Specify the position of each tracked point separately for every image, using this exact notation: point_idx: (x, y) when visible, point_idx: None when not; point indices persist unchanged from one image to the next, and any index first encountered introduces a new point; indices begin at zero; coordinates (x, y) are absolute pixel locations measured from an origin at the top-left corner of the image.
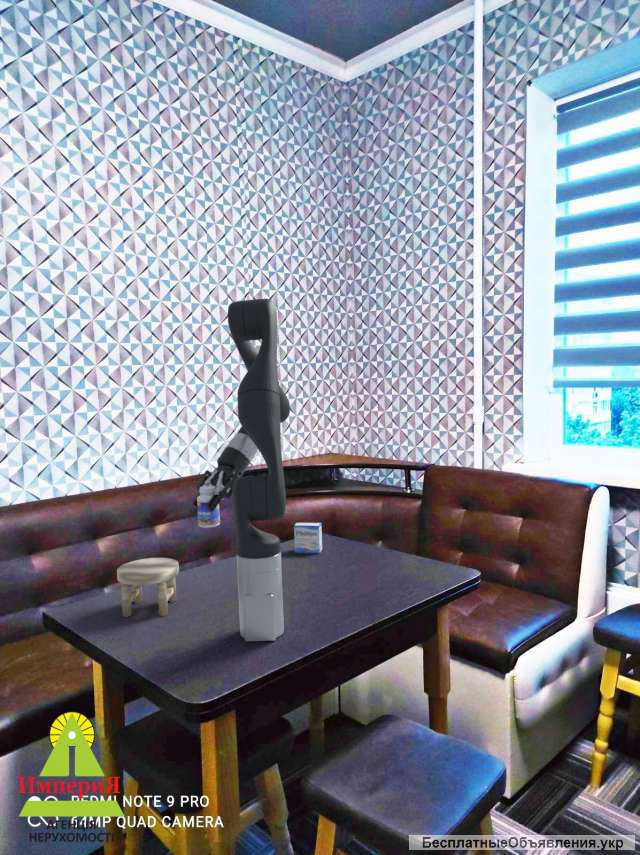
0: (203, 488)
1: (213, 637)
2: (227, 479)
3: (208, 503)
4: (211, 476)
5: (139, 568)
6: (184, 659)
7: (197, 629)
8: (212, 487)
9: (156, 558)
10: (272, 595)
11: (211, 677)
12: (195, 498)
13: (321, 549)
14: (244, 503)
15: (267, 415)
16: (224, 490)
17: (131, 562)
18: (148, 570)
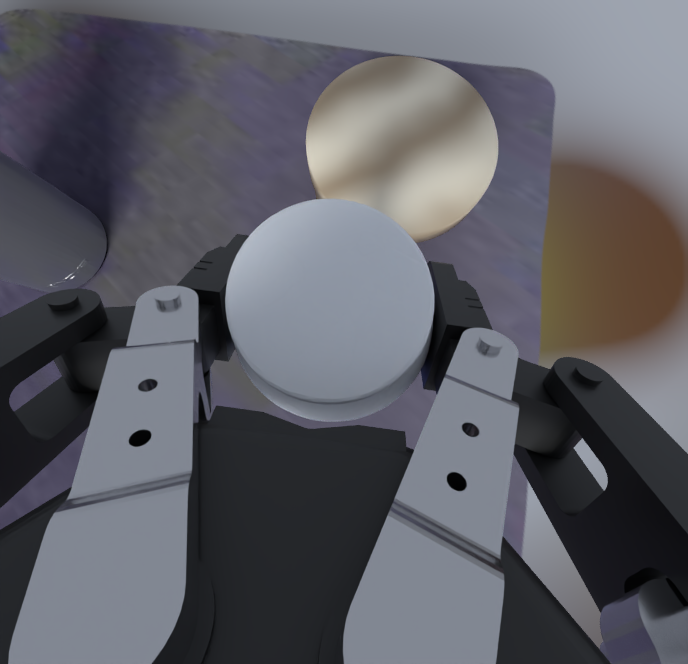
0: (301, 203)
1: (138, 178)
2: (18, 521)
3: (241, 244)
4: (469, 508)
5: (410, 117)
6: (119, 89)
7: (196, 186)
8: (237, 300)
9: (455, 209)
10: None
11: (28, 71)
12: (458, 284)
13: None
14: None
15: None
16: (29, 308)
17: (488, 140)
18: (368, 119)
